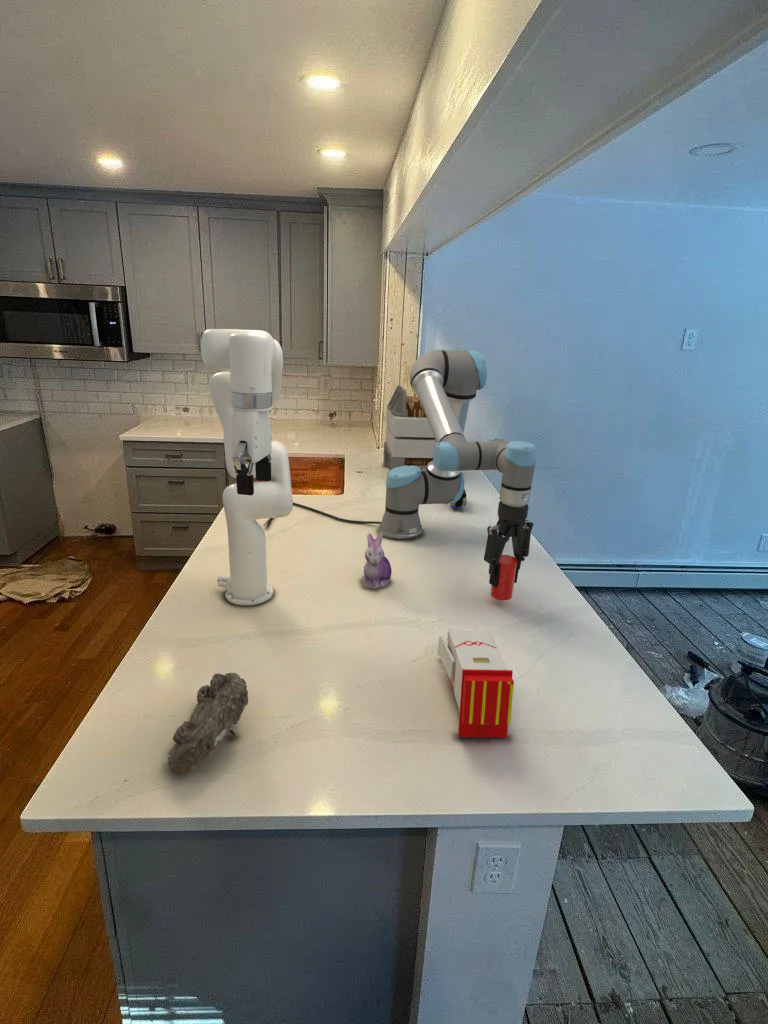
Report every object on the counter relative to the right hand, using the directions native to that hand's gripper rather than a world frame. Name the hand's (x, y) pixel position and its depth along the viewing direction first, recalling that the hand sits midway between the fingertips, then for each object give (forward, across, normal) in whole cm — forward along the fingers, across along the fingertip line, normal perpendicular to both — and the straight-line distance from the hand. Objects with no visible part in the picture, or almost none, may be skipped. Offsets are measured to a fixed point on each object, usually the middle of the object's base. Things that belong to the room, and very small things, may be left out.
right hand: (502, 582), depth 153 cm
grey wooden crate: (+9, +46, +119) cm, 128 cm away
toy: (+6, -30, -28) cm, 42 cm away
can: (+4, 0, 0) cm, 4 cm away
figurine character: (+8, +35, +72) cm, 80 cm away
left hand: (-34, -66, +2) cm, 74 cm away
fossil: (+6, -81, -18) cm, 83 cm away
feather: (+8, -36, +87) cm, 95 cm away
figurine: (+7, -26, +24) cm, 36 cm away
